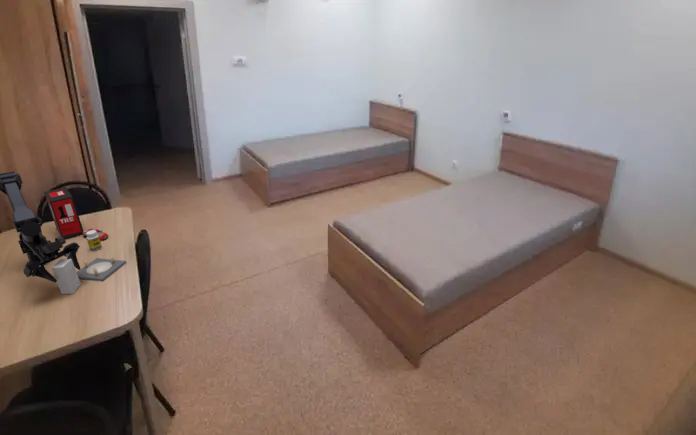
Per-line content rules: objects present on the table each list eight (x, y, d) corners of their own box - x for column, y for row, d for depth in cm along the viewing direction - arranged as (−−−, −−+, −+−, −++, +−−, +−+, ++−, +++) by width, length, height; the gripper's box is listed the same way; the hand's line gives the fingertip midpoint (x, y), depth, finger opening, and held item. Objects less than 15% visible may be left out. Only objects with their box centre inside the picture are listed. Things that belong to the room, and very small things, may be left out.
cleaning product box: (84, 234, 194) (72, 196, 186) (63, 240, 189) (49, 201, 180) (77, 223, 205) (65, 187, 197) (56, 229, 200) (43, 192, 191)
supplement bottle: (96, 251, 179) (91, 235, 176) (87, 250, 180) (82, 234, 176) (104, 246, 183) (99, 230, 180) (95, 245, 184) (90, 229, 181)
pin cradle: (71, 277, 160) (68, 269, 158) (97, 260, 172) (94, 252, 171) (102, 281, 158) (100, 272, 156) (126, 262, 170) (124, 254, 169)
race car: (111, 238, 192) (109, 230, 190) (100, 243, 187) (98, 235, 186) (92, 232, 196) (90, 225, 195) (81, 237, 192) (79, 230, 190)
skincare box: (69, 285, 155) (60, 258, 150) (81, 284, 156) (72, 258, 151) (61, 294, 150) (50, 267, 145) (72, 293, 150) (63, 266, 145)
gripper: (16, 245, 136) (49, 278, 137) (69, 223, 152) (97, 253, 153) (10, 260, 142) (41, 292, 143) (61, 237, 158) (88, 266, 159)
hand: (68, 275), depth 150 cm, fingers open, 9 cm apart
